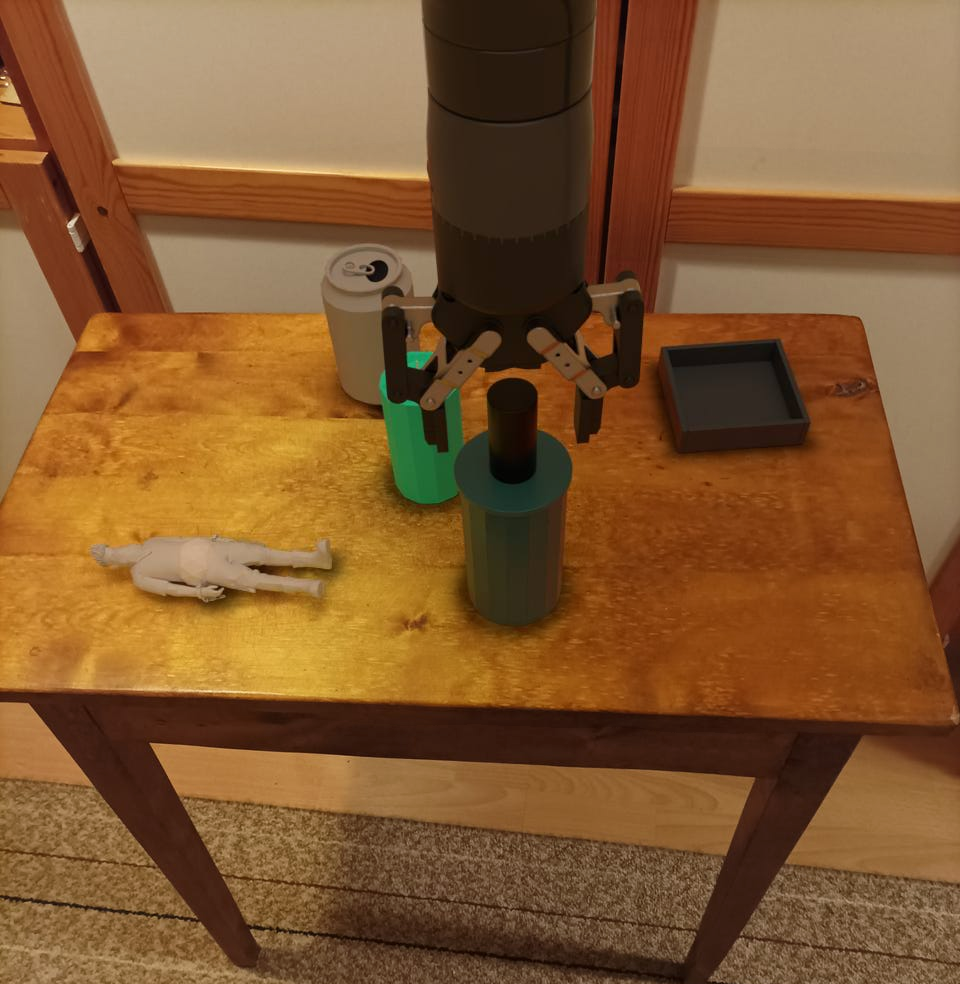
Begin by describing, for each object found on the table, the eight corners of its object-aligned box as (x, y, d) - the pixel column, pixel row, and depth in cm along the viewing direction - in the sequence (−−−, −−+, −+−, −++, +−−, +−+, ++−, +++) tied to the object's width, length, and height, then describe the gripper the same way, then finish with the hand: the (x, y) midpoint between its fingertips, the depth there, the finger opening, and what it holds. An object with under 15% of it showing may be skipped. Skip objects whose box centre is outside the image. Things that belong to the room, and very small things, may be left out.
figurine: (318, 590, 65) (66, 578, 65) (324, 624, 68) (84, 613, 68) (331, 519, 69) (95, 508, 69) (336, 555, 73) (110, 544, 72)
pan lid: (565, 433, 61) (569, 347, 55) (578, 519, 57) (585, 436, 51) (452, 441, 61) (444, 356, 55) (457, 528, 57) (450, 445, 51)
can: (422, 410, 80) (407, 292, 70) (337, 412, 80) (311, 295, 70) (426, 354, 84) (412, 234, 74) (345, 355, 84) (321, 237, 74)
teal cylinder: (555, 548, 71) (561, 430, 60) (565, 622, 67) (573, 509, 57) (466, 555, 71) (456, 437, 60) (470, 629, 67) (461, 517, 57)
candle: (432, 440, 78) (419, 323, 68) (481, 476, 75) (475, 359, 65) (380, 478, 76) (358, 362, 66) (428, 516, 73) (413, 402, 63)
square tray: (773, 360, 82) (780, 337, 80) (803, 444, 76) (811, 422, 74) (657, 369, 82) (660, 346, 80) (678, 453, 76) (682, 431, 74)
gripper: (356, 242, 40) (397, 492, 54) (676, 220, 40) (636, 475, 54) (359, 151, 44) (396, 404, 58) (649, 131, 44) (618, 389, 58)
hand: (512, 438), depth 56 cm, fingers open, 8 cm apart
